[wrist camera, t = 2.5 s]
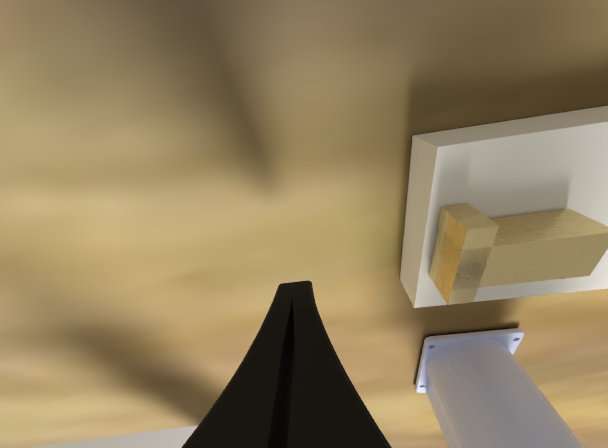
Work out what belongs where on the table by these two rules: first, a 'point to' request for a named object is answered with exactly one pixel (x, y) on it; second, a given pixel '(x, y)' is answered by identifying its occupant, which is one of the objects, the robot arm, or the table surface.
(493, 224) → the block
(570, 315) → the table surface
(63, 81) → the table surface
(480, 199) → the socket board
